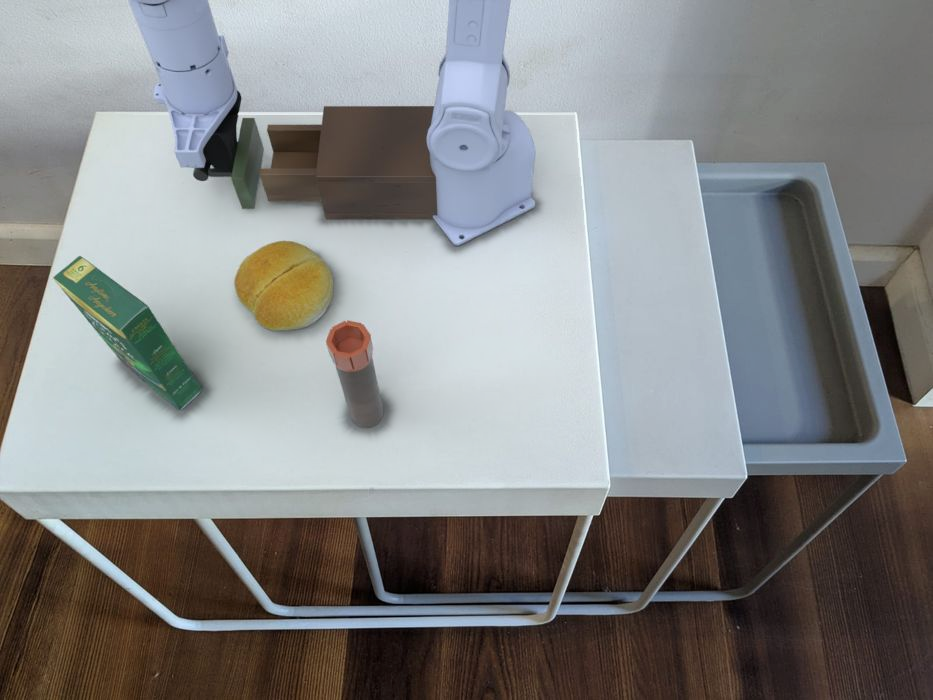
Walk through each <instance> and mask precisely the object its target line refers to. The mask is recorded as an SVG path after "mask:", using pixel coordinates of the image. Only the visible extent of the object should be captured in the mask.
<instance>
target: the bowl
mask: <svg viewBox="0 0 933 700" xmlns="http://www.w3.org/2000/svg"><path fill="white" fill-rule="evenodd" d="M325 344H326V347H327V351H328V354H329V357H330V358H331V361H332V363H333V364H334V366H335V368H336V367H338V368H339V369H341V370H343V371H346V372H355V371H359V370H361V369H363V368H364V367H366V366H367V365H368V364H369V362H370V361H371V359H372V358H373V354H374V353H373V351H374V346H373V341H372V335H371V333H370V332H369V330H368V328H366V326H365V324H364V323H362V322H359V321H353V320H343V321H341V322H340V323H338V324H335V325H334V326H331V328H330V329H329V333H328V335H327V338H326V340H325Z"/></svg>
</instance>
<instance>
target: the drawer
mask: <svg viewBox="0 0 933 700" xmlns="http://www.w3.org/2000/svg"><path fill="white" fill-rule="evenodd" d="M257 125H258V124H257V122H256V119H255V117H242V119H241V124H240V129H239V133H238V138H237V150H236V155H235V160H234V166H233V168H214V167H212V165H211V164H210V163H209V161H208V160H207V159H206V158H205V159H206V162H205V166H204V168H193V173H192V176H193V178H194V179H195V180H196V181H199V182H206V181H207V180H209V178H230V180H231V183H232V184H233V185H232V186H233V188H234V190H235V193H236V196H237V198H238V201H239V204H240V206H241V209H243V210H253V209H255V207H256V200H257V195H258V188H259V184H260V183H259V182H260V181H261V184H262V187H263V190H264V193H265V196H266V199H267V201H268V202H322V201H321V197H320V193H319V189H318V185H317V180H316V169H317V161H318V152H319V144H320V135H321V127H322V124H267V127H266V132H267V136H268V139H269V143H270V145H271V150H272V158H271V164H270V167H269V168H262V165H263V159H264V158H263V157H264V152H265V148H264V144H263V140H262V138H261V136H260V131H259V128H258V126H257ZM204 157H205V156H204Z"/></svg>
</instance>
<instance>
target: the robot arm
mask: <svg viewBox="0 0 933 700" xmlns="http://www.w3.org/2000/svg"><path fill="white" fill-rule="evenodd" d="M511 1H512V0H448V13H447V29H446V45H445V53H444V55H443V56H442V58H441V61H440V62H439V66H438V82H437V87H436V94H435V99H434V105H433V106H434V110H433V116H432V121H431V126H430V128H429V129H428V133H427V147H428V149H429V151H430V164H431V168H432V171H433V173H434V174H435V176H436V190H437V215H433V219H432V220H434V221H435V223H436V224H437V225H438V226H439V227H440V229H441V231H442V232H443V233H444V234H445V235H446V237H447V238H448V239H449V240H450V242H451V243H452V245H454V246H461V245H463V244H465V243H467V242H469V241H471V240H473V239H475V238H477V237H479V236H481V235H483V234H485V233H487V232H489V231H491V230H493V229H494V228H497V227H498V226H501V225H502V224H505V223H506V222H508V221H511V220H512V219H514V218H516V217H518V216H521V215H522V214H524V213H526V212H529V211H530V210H532V209H534V208H535V207H536V201H535V200H534V198H533V197H532V190H533V181H534V173H535V164H536V148H535V143H534V140H533V137H532V134H531V131H530V130H529V127H528V126H527V124H526V123H525V121H524V120H523V119H522V117H520V115H519V114H517V113H516V112H515V111H513V110H511V109H506V103H507V102H506V101H507V93H508V86H509V85H510V78H511V70H510V66H509V64H508V61H507V59H506V57H505V54H504V50H505V43H506V36H507V30H508V29H507V28H508V23H509V15H510V9H511ZM127 2H128V4H129V6H130V9H131V11H132V14H133V16H134V19H135V22H136V24H137V26H138V28H139V32H140V34H141V36H142V38H143V40H144V44H145V46H146V48H147V51H148V53H149V56H150V59H151V61H152V64H153V66H154V68H155V71H156V74H157V76H158V79H159V82H157V83H156V84H155V86H154V89H153V93H152V97H153V99H154V102H155V103H157V104H160V105H161V104H162V105H166V107H167V108H166V109H167V113H168V116H169V120H170V124H171V127H172V131H173V134H174V141H175V142H174V143H175V144H174V150H173V153H174V155H175V157H176V159H177V161H178V164H179V166H180V168H185V169H186V168H189V169H194V168H204V166H205V162H206V159H207V160H208V161H209V163H210V164H211V167H212V168H233V166H234V160H235V155H236V150H237V141H238V136H237V135H238V133H237V132H238V131H237V125H238V120H239V113H240V109H241V104H242V99H243V98H242V94H241V92H240V91H239V90H238V89H237V85H236V81H235V78H234V75H233V73H232V69H231V67H230V64H229V59H228V57H229V49H228V46H227V42H226V39H225V36H224V35H220V34H219V33H218V30H217V26H216V23H215V20H214V16H213V13H212V10H211V6H210V1H209V0H127ZM204 156H205V157H204ZM205 158H206V159H205Z"/></svg>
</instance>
